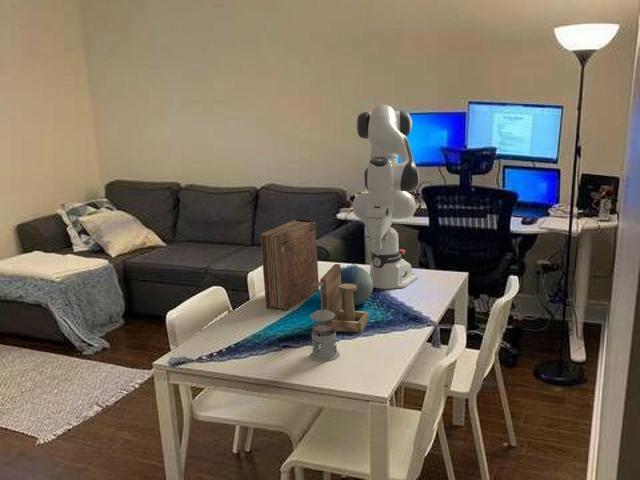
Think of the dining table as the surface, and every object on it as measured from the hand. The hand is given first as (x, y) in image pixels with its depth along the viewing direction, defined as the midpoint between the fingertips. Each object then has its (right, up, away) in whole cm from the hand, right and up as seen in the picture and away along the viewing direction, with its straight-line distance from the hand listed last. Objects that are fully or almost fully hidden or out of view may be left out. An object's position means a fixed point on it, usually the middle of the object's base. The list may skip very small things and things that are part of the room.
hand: (381, 245), depth 226 cm
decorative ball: (-8, -23, +29) cm, 38 cm away
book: (-32, -22, +38) cm, 55 cm away
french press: (-20, -35, -13) cm, 43 cm away
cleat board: (-11, -29, +9) cm, 32 cm away
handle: (-11, -29, +8) cm, 32 cm away
